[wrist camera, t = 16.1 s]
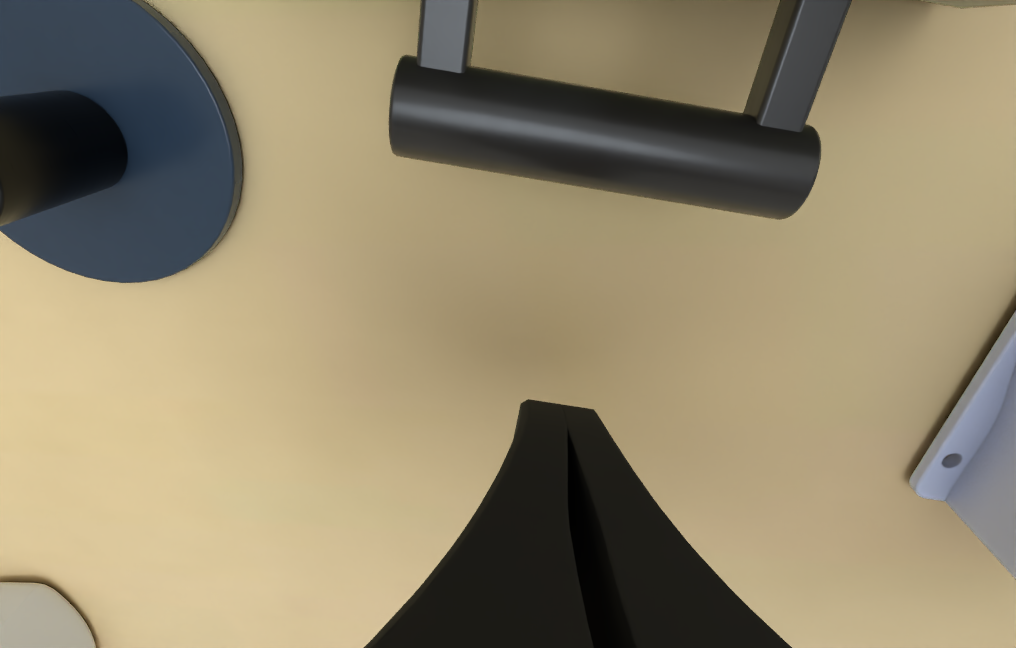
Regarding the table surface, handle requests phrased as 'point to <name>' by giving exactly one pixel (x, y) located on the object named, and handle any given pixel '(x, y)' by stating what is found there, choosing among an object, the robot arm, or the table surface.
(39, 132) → the lid
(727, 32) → the table surface
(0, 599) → the eye dropper bottle
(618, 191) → the drawer
